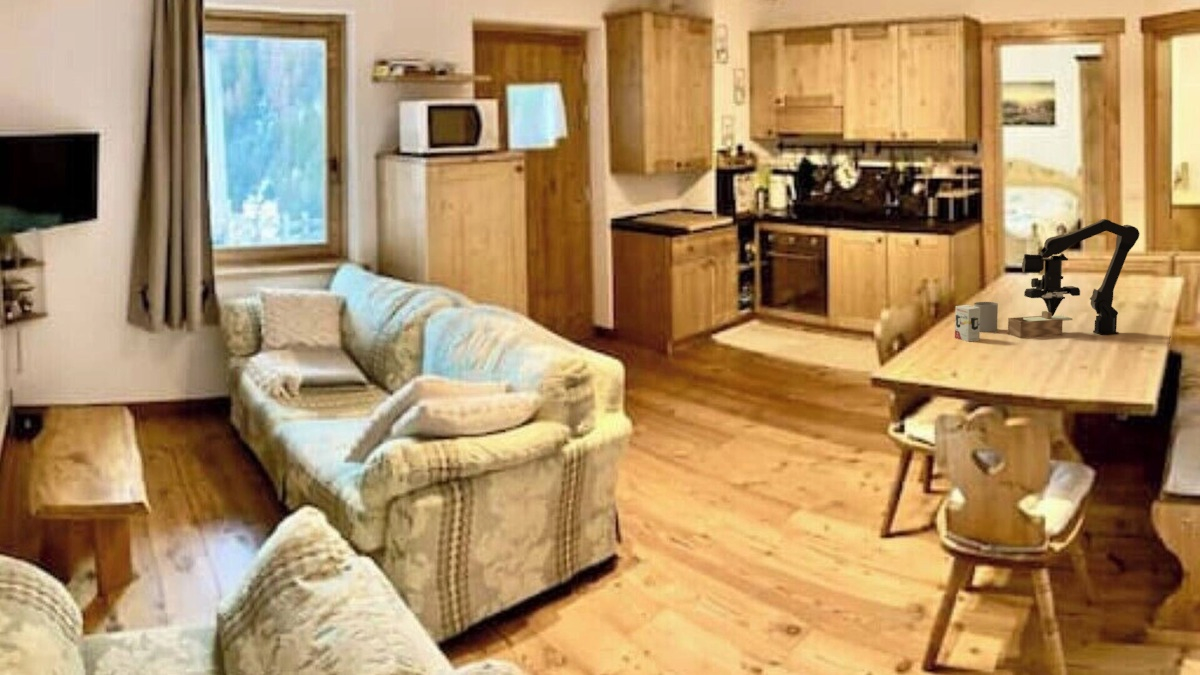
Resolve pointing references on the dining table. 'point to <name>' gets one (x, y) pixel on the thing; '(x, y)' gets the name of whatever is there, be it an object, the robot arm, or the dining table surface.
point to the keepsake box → (1034, 327)
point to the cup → (988, 316)
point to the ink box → (967, 323)
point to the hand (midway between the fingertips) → (1051, 315)
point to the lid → (1047, 317)
